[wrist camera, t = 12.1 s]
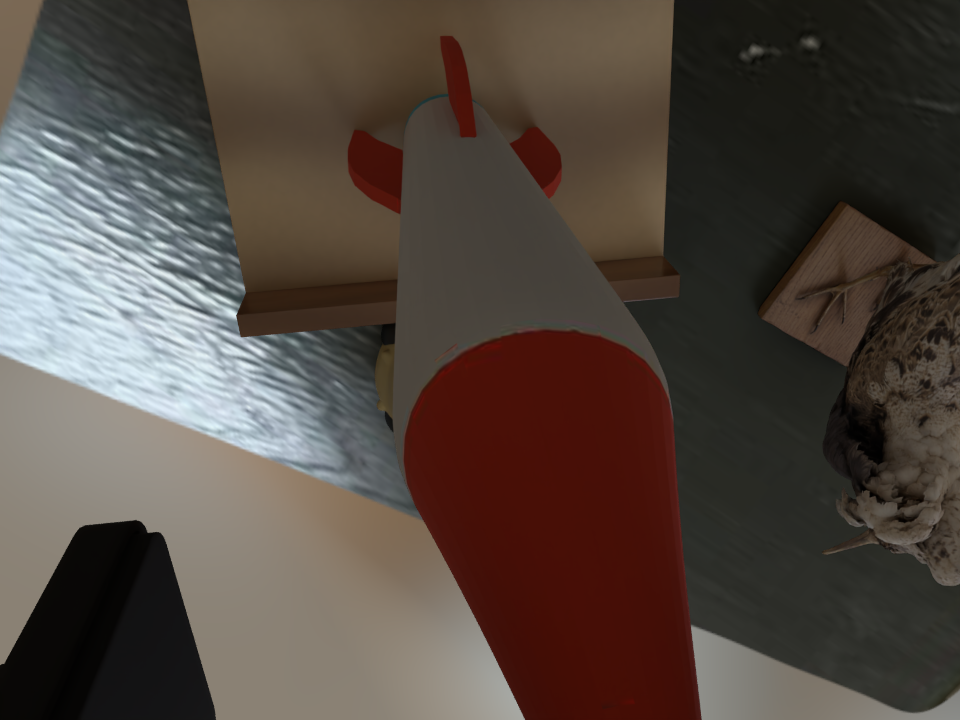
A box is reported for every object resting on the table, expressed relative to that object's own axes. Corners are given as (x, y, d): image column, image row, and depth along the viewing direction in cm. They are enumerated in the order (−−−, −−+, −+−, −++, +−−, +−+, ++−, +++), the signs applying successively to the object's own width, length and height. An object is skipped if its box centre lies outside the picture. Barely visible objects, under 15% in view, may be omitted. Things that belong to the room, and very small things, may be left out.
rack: (227, -51, 38) (159, -51, 27) (613, -77, 39) (700, -86, 28) (278, 240, 44) (240, 337, 33) (609, 212, 45) (679, 297, 34)
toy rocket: (347, 134, 32) (99, 1011, 6) (446, 26, 31) (729, 530, 4) (448, 228, 35) (610, 1196, 8) (545, 131, 33) (1153, 914, 6)
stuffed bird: (710, 425, 52) (842, 623, 37) (827, 103, 44) (1061, 187, 28) (852, 443, 54) (1035, 640, 39) (992, 136, 45) (1296, 233, 30)
